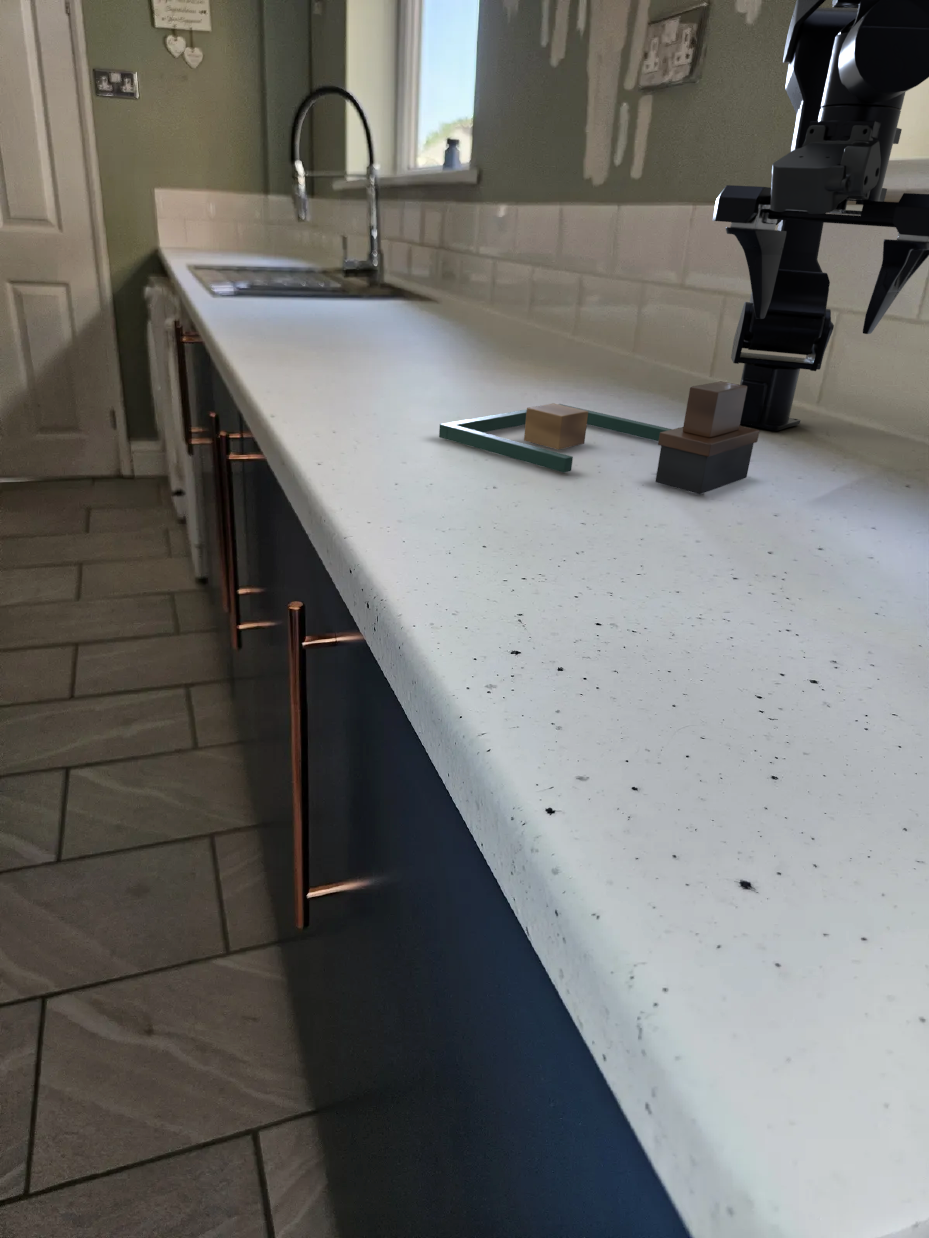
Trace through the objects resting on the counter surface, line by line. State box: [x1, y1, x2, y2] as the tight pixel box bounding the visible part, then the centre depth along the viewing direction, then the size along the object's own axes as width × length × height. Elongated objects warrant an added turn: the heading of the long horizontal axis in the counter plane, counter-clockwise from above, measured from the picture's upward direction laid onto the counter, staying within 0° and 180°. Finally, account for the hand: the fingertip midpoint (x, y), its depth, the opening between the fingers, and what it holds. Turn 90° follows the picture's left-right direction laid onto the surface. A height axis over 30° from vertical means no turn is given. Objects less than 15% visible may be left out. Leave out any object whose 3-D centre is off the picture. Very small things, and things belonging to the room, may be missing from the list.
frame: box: [438, 403, 673, 474], centre depth 80 cm, size 18×14×1 cm
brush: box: [655, 380, 760, 495], centre depth 69 cm, size 8×4×8 cm, turn 138°
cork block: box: [523, 402, 588, 451], centre depth 79 cm, size 4×4×3 cm
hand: (811, 325), depth 72 cm, fingers open, 9 cm apart
